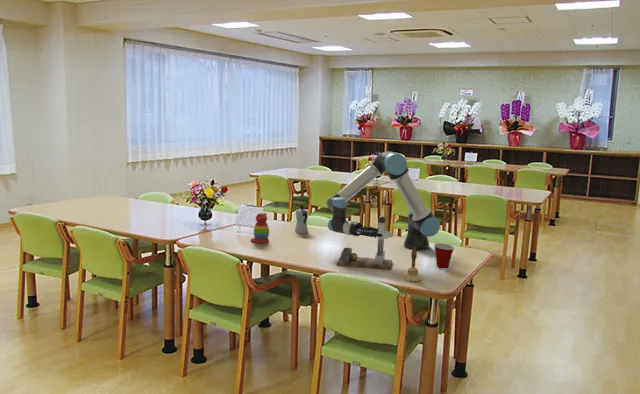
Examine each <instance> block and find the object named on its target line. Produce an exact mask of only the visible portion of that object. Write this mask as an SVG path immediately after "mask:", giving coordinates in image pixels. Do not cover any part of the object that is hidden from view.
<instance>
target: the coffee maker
mask: <svg viewBox="0 0 640 394" xmlns="http://www.w3.org/2000/svg"><path fill="white" fill-rule="evenodd" d="M308 214H309V210H307V209H304V205H300V209H299V208H298V209H295V218H296V223H295V224H296V225H295V230H294V232H295V234H301V235H304V234H307V233H309V231H308V230H309V229H308V222H307V221H308Z"/></svg>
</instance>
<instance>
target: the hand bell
mask: <svg viewBox="0 0 640 394" xmlns="http://www.w3.org/2000/svg"><path fill="white" fill-rule="evenodd" d="M417 254H418V253H417V250H416V248H413V249H411V267H409V268H408V270H407V274H406V275H405V277H404V278H403V280H404V279H405V281H406V280H407V281H406V282H409V281H413V282H412V283H418V282H417V281H419V282H421V281H422V278H421V277H420V275H419V270H418V268H417V267H416V259H417V256H418V255H417ZM420 280H421V281H420ZM415 281H416V282H415Z"/></svg>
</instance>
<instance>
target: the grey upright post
mask: <svg viewBox="0 0 640 394" xmlns="http://www.w3.org/2000/svg"><path fill="white" fill-rule="evenodd" d="M377 222H378V225H377V226H378V227H377V228H378V232H383V233H384V231H385V227H386V226H385V225H386V224H385V223H386V222H387V220H386V217H385V216H384V215H381V216H379V217H378V218H377ZM384 244H385V238H380V237H377V246H376V247H377V250H376V253H375V256H374V257H375V264H376V265H383V263H384V259H386V258H385V257H386V250H384V248H385V246H384Z"/></svg>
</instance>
